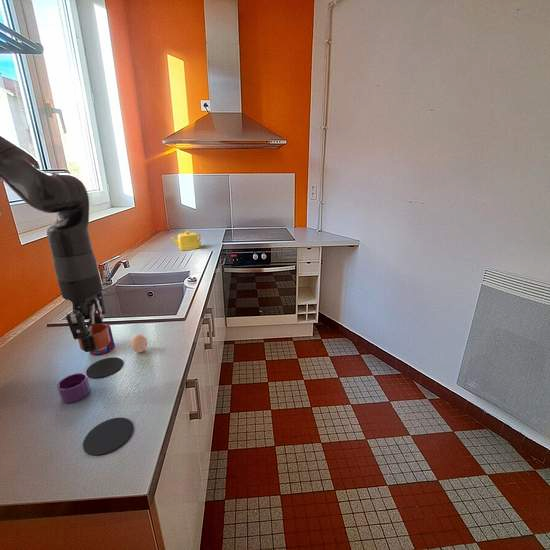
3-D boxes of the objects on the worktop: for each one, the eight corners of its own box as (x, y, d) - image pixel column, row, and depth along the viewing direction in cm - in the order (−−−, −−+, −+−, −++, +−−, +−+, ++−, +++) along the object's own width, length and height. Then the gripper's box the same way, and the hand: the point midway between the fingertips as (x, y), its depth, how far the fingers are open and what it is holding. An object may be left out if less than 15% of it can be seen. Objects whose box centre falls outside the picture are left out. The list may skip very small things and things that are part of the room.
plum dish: (56, 405, 69) (52, 391, 68) (68, 388, 75) (63, 375, 73) (85, 401, 70) (81, 387, 69) (94, 384, 76) (90, 371, 75)
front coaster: (75, 460, 56) (75, 459, 56) (92, 422, 64) (92, 421, 64) (127, 450, 58) (127, 449, 57) (137, 415, 66) (137, 414, 66)
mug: (87, 357, 87) (82, 337, 85) (93, 340, 96) (88, 321, 94) (113, 352, 90) (108, 332, 87) (117, 336, 98) (112, 317, 96)
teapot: (174, 252, 202) (171, 234, 198) (171, 248, 212) (169, 231, 209) (203, 248, 210) (201, 231, 206) (200, 244, 220) (198, 228, 216)
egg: (134, 357, 87) (130, 340, 85) (130, 350, 90) (127, 334, 88) (150, 352, 89) (147, 335, 87) (146, 345, 92) (143, 329, 91)
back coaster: (80, 380, 77) (80, 379, 77) (93, 360, 86) (92, 359, 86) (118, 375, 79) (118, 374, 79) (126, 356, 88) (126, 355, 87)
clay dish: (76, 354, 66) (72, 338, 64) (86, 340, 71) (82, 325, 70) (106, 350, 67) (102, 334, 66) (114, 336, 72) (110, 321, 71)
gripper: (72, 265, 69) (88, 329, 75) (40, 287, 56) (63, 363, 61) (107, 262, 71) (121, 326, 76) (85, 283, 57) (103, 358, 63)
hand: (95, 342), depth 69 cm, fingers closed on clay dish, 6 cm apart
